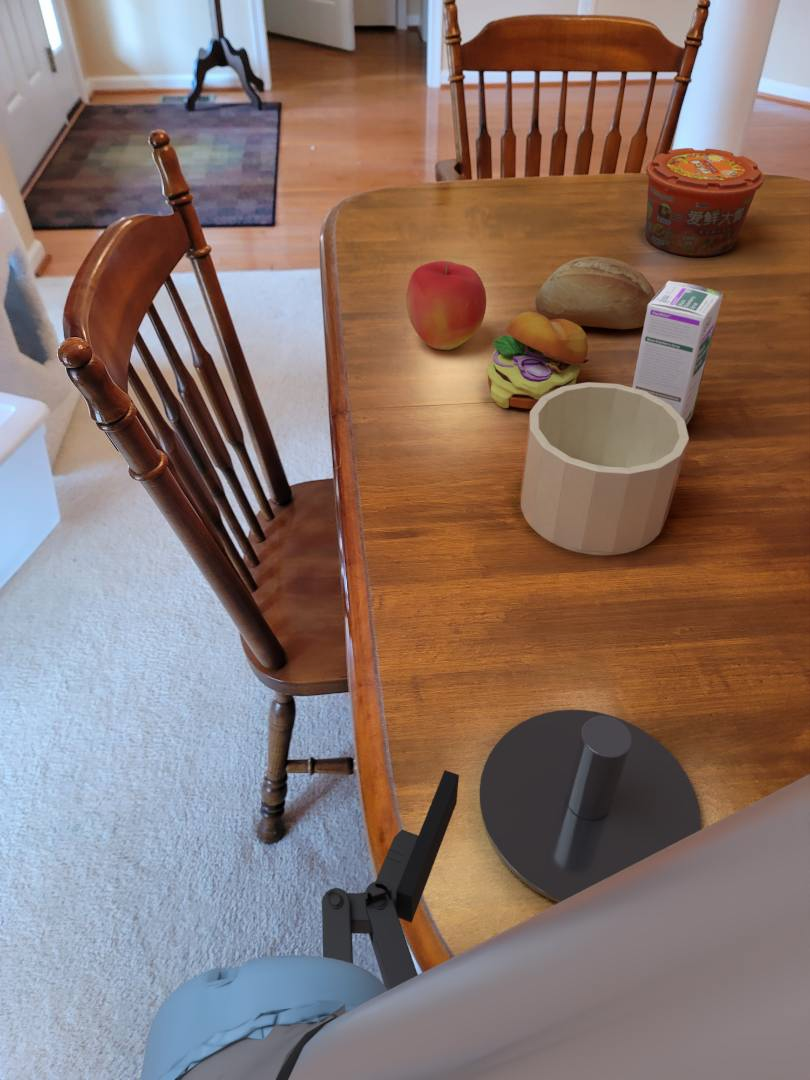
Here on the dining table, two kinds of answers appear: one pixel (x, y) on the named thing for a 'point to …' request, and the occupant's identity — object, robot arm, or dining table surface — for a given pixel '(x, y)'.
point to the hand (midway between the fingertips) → (584, 831)
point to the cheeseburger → (535, 359)
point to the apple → (445, 303)
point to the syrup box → (677, 344)
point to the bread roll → (596, 294)
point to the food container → (698, 200)
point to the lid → (582, 800)
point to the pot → (601, 467)
